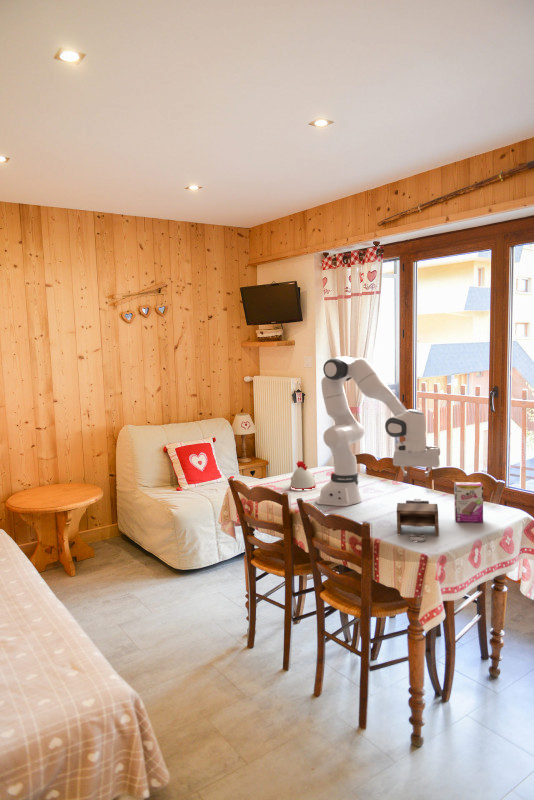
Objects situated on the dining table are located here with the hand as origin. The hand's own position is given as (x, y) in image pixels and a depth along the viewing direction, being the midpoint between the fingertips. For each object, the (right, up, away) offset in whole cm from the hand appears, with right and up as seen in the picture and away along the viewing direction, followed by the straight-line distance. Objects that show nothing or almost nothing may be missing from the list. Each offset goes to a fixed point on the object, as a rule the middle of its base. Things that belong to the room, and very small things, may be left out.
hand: (416, 475), depth 244 cm
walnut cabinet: (-5, -20, -21) cm, 30 cm away
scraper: (-1, -18, -5) cm, 19 cm away
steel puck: (-8, -21, -30) cm, 38 cm away
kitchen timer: (-47, -15, +55) cm, 74 cm away
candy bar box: (+19, -18, -13) cm, 29 cm away
